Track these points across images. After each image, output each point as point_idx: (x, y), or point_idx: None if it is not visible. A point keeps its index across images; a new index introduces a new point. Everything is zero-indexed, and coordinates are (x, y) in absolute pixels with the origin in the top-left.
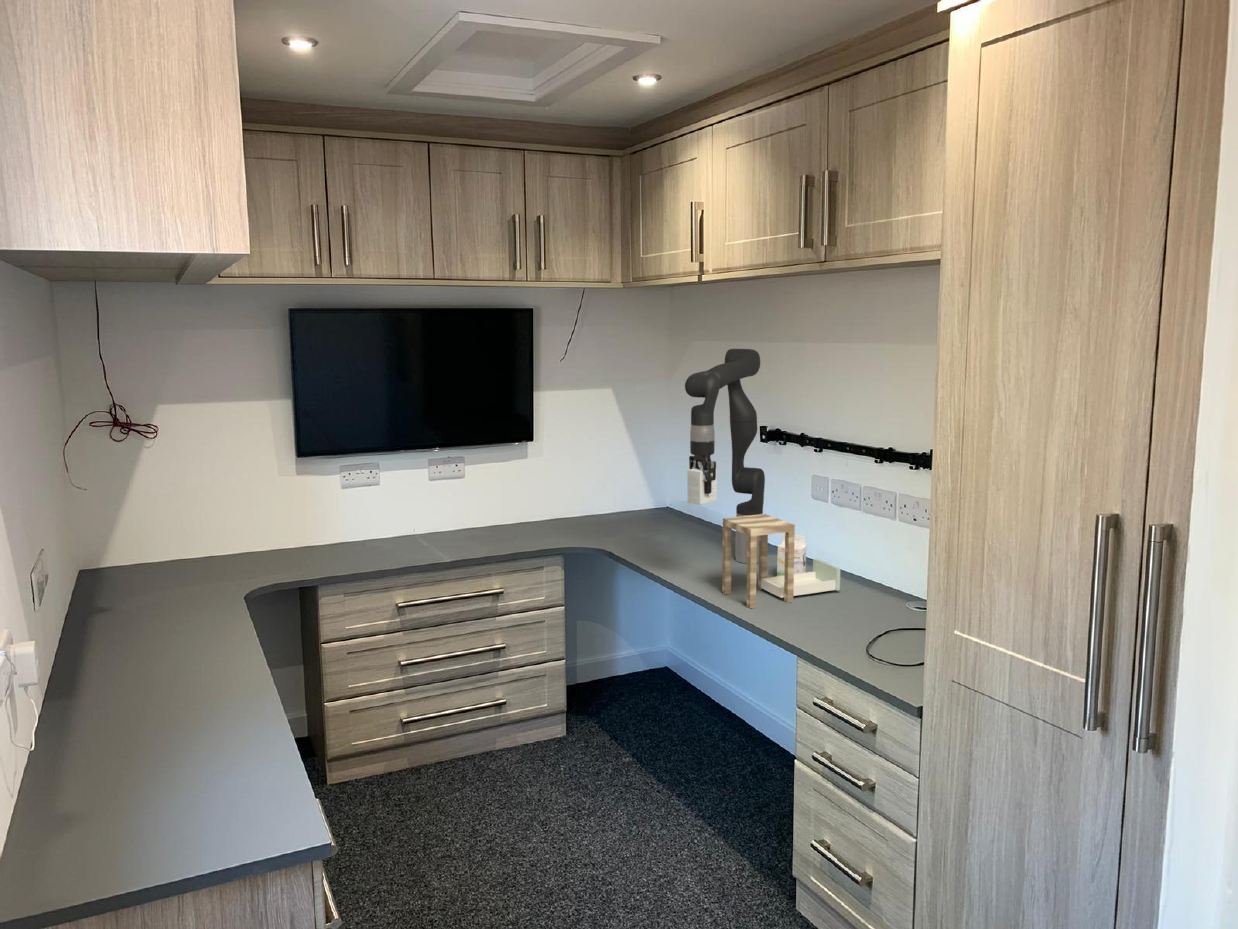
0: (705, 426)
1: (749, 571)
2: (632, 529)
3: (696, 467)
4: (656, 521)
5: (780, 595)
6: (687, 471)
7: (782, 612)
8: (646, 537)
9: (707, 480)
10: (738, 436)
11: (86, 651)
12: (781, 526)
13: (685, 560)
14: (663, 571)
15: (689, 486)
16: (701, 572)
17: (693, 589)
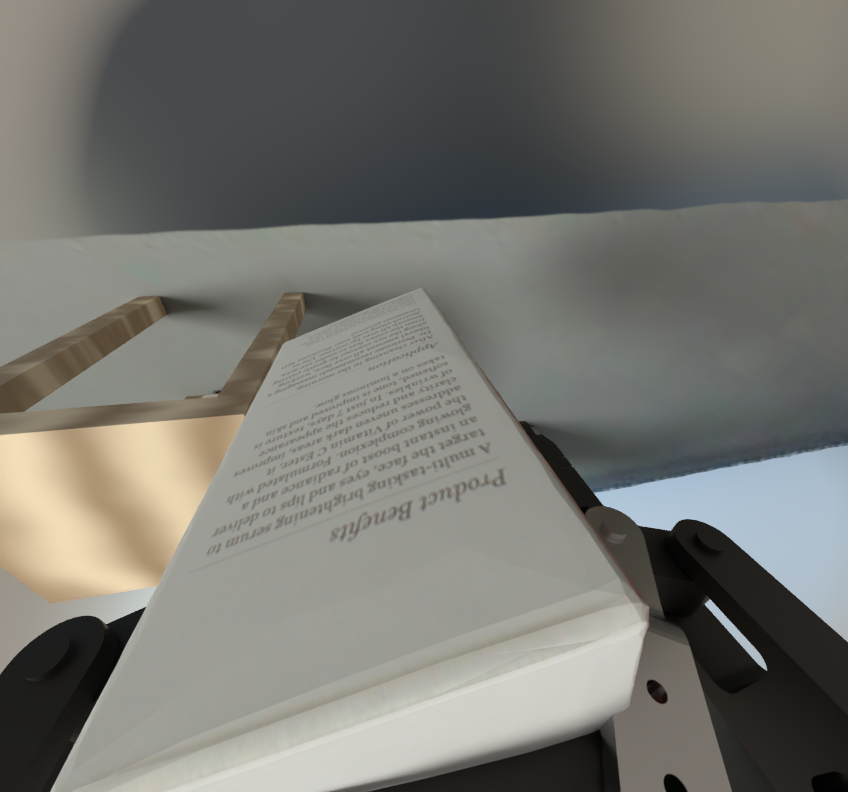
0: None
1: (65, 337)
2: (842, 330)
3: (609, 757)
4: (821, 394)
5: (203, 397)
6: (604, 554)
7: (102, 358)
8: (779, 331)
9: (92, 620)
10: None
11: None
12: (5, 568)
13: (590, 333)
14: (553, 236)
15: (421, 357)
16: (490, 325)
17: (364, 233)
